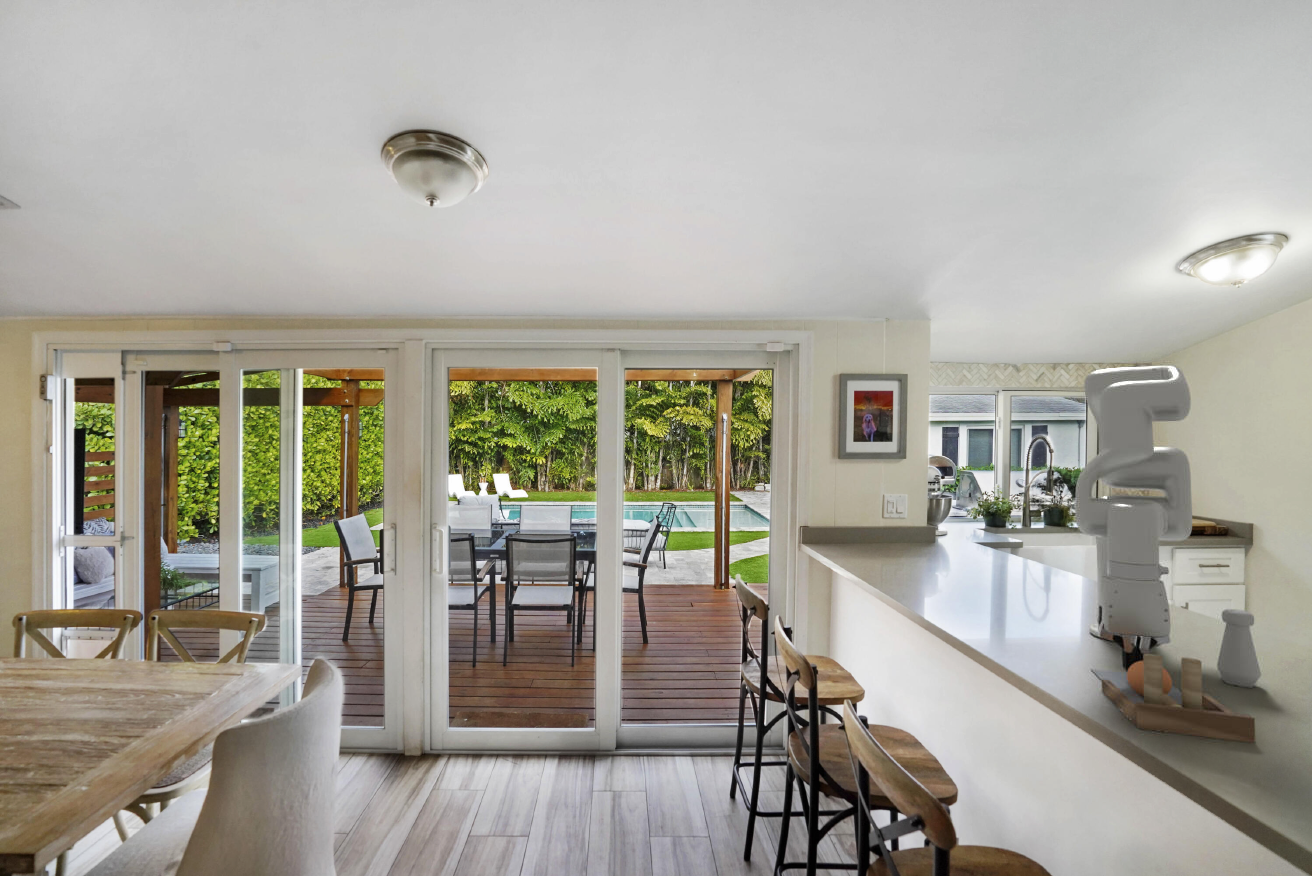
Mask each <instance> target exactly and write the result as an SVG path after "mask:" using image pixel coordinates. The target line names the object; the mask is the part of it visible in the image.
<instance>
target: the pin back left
mask: <svg viewBox="0 0 1312 876" xmlns="http://www.w3.org/2000/svg"><path fill="white" fill-rule="evenodd" d="M1180 661H1181V666H1180V667H1181V692H1182V707H1183V708H1192V709H1201V710H1202V709H1203V708H1202V691H1203V687H1202V679H1203V677H1202V673H1203V672H1202V660H1200V659H1197V658H1193V657H1181V659H1180Z"/></svg>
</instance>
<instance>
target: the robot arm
mask: <svg viewBox="0 0 1312 876" xmlns="http://www.w3.org/2000/svg"><path fill="white" fill-rule="evenodd" d="M1083 385H1084V386H1083V389H1084V395H1085V399H1086V402H1087V406H1088V407H1089V411H1090V412H1091V414H1092V415H1093V418H1094V420H1095V423H1096V426H1097V429H1098V454H1097V455H1095V457H1094V458H1092V459H1091V460H1090V461H1089V462H1088V463H1087V464H1086V465H1085V466H1084V468H1083V469H1082V470H1081V471H1080V474H1079V476H1078V479H1077V482H1076V486H1075V523H1076V526H1077V528H1078V530H1079V531H1080V532H1081V533H1083V534H1084V535H1087V536H1090V537H1095V540H1096V541H1095V542H1096V543H1095V544H1096V565H1097V566H1096V570H1097V572H1096V576H1097V578H1096V579H1097V581H1096V582H1097V583H1096V584H1097V585H1096V587H1097V590H1096V591H1097V593H1096V594H1097V604H1096V605H1097V606H1096V622H1097V623H1096V624H1094V623H1093V624H1091V625H1090V626H1089V633H1091V635H1093V636H1095V637H1099V638H1101V639H1103V640H1108V641H1112V642H1115V643H1116V644H1117V645H1118V646H1119V648H1121V653H1122V654H1121V663H1122V667H1123V668H1124V670H1125V671H1126V673H1127V672H1128V669H1129V667H1130V666H1131V665H1132V664H1134V663H1136V662H1138V661H1143V655H1144V654H1149V651H1150V650H1151V649H1152V648H1154V647H1155V646H1156V645H1165V644H1171V637H1170V633H1171V613H1170V605H1169V599H1168V594H1167V590H1166V587H1165V584H1164V583H1165V582H1164V581H1162V580H1161V579H1162V576H1163V575H1169V572H1170V570H1169V567H1167V566H1162V565H1161V564H1160V541H1165V542H1167V541H1169V542H1171V541H1172V542H1180V541H1185V540H1188V538H1189V537H1190V535H1191V533H1192V529H1193V503H1192V480H1191V477H1192V476H1191V465H1190V461H1189V458H1188V456H1187V454H1186V453H1185V452H1184V451H1183V450H1182V449H1179V448H1176V447H1171V446H1154V445H1155V444H1154V430H1153V427H1154V426H1153V422H1180V421H1183V420H1185V419H1186V418H1187V417H1188V415H1189V413H1190V409H1191V402H1192V400H1191V399H1192V398H1191V392H1190V387H1189V385H1188V382H1187V379H1186V378H1185V375H1184V372H1183V371H1182V369H1180V367H1178V366H1175V365H1152V366H1134V367H1133V366H1132V367H1130V366H1129V367H1115V368H1114V367H1113V368H1112V367H1111V368H1106V369H1099V370H1095V371H1092V372H1090V373H1089V374H1088V375H1086V377H1085V379H1084V383H1083ZM1099 480H1100V481H1101V483H1102V484H1103V485H1104V486H1106V487H1108V488H1113V489H1120V490H1121V489H1123V490H1144V491H1145V490H1146V491H1149V490H1150V491H1151V490H1152V491H1160V492H1161V493H1162V494H1163V495H1164V496H1159V495H1158V496H1153V495H1137V494H1136V495H1135V494H1134V495H1133V494H1111V495H1110V494H1109V495H1108V494H1107V495H1104V496H1101V497H1093V487H1094V486H1095V484H1096V483H1097V481H1099ZM1133 645H1134V646H1133Z"/></svg>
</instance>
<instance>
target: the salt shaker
mask: <svg viewBox="0 0 1312 876" xmlns="http://www.w3.org/2000/svg"><path fill="white" fill-rule="evenodd" d="M1221 619H1222V621H1223V623H1225V627H1224V632H1223V636H1222V641H1221V646H1220V649H1219V655H1218V660H1217V663H1216V667H1217V671H1218V673H1219V675H1220V676H1221V678H1222V680H1223V681H1224V682H1225V683H1226V684H1229V685H1233V686H1236V685H1237V686H1236V687H1240V688H1253V687H1254V686H1255V684H1256V683H1257V682H1258V681H1259V679H1260V678H1261V677H1262V672H1261V669H1260V665H1259V662H1258V656H1257V655H1256V649H1255V645H1254V641H1253V635H1252V632H1251V627H1253V626H1254V625H1255V616H1254V614H1252V612H1249V611H1246V610H1242V609H1236V608H1227V609H1224V610H1222V612H1221Z"/></svg>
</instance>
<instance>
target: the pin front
mask: <svg viewBox="0 0 1312 876" xmlns="http://www.w3.org/2000/svg"><path fill="white" fill-rule="evenodd" d="M1163 705H1165V706H1174V707H1182V706H1181V705H1179V704H1178V703H1177V702H1176V701H1175V700H1173V699H1172V698H1171V697H1170V696H1169V695H1167V694H1163Z"/></svg>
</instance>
